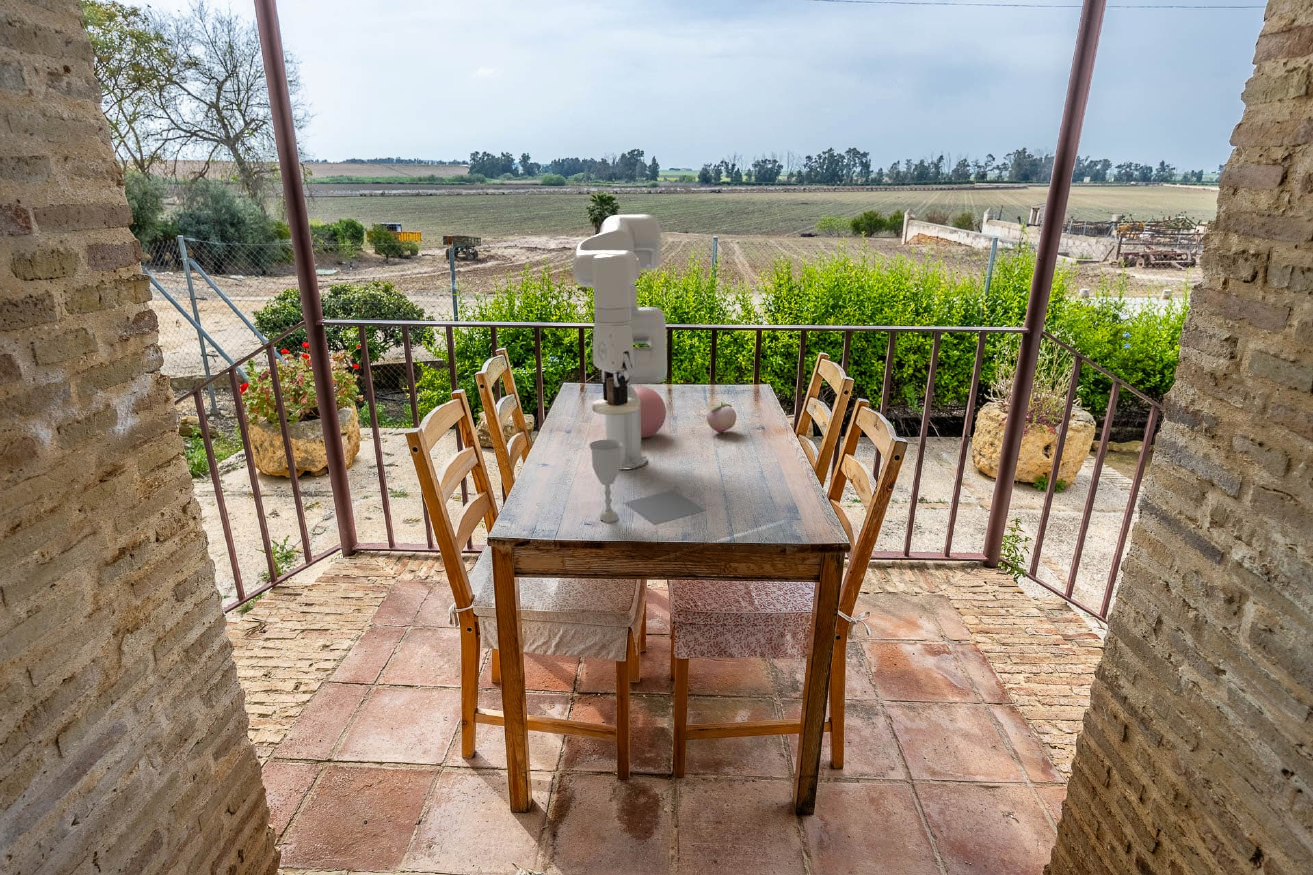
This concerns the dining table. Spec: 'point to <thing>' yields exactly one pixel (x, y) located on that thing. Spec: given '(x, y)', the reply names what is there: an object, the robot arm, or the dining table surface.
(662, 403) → the balloon
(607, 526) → the dining table surface
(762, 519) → the dining table surface
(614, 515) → the chalice
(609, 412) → the lid
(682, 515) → the mat
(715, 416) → the decorative fruit
